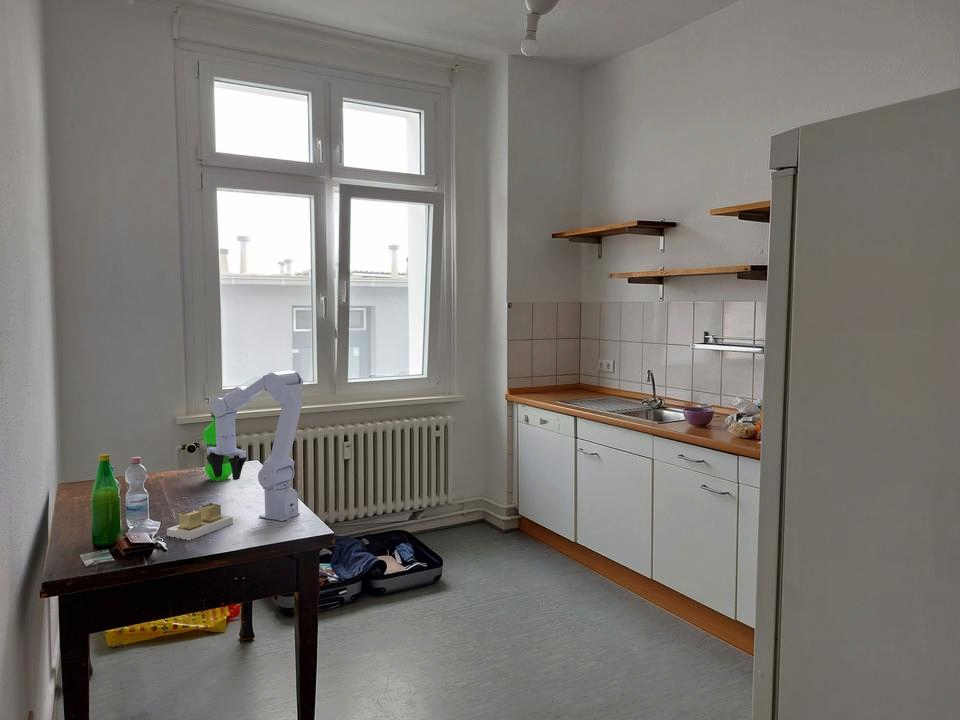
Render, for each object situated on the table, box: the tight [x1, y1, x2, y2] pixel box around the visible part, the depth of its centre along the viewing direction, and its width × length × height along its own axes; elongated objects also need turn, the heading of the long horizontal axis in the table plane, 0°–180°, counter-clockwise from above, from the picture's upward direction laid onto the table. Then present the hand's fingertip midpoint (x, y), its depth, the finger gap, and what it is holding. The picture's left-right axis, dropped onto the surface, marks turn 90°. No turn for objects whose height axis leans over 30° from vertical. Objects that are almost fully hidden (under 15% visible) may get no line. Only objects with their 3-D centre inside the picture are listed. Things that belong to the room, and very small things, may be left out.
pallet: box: [166, 514, 234, 541], centre depth 191 cm, size 8×16×2 cm, turn 155°
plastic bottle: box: [202, 411, 232, 482], centre depth 246 cm, size 10×10×25 cm
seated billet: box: [178, 509, 201, 531], centre depth 188 cm, size 4×4×6 cm
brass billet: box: [198, 502, 222, 523], centre depth 194 cm, size 4×4×6 cm
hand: (227, 478), depth 211 cm, fingers open, 7 cm apart
